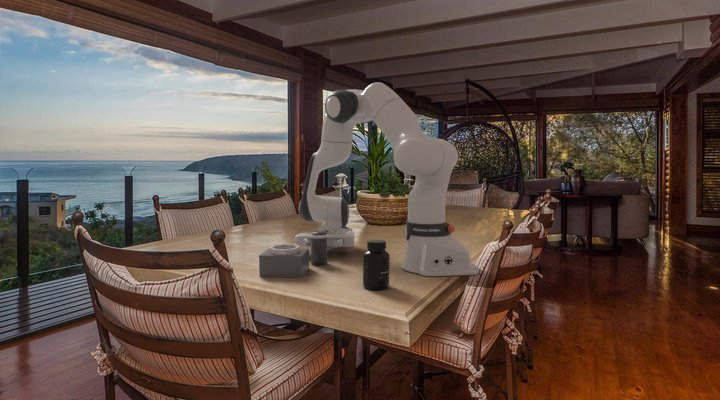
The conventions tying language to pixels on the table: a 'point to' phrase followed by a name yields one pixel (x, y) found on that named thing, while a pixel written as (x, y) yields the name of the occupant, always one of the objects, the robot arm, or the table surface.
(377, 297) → the table surface
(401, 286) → the table surface
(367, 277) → the supplement bottle
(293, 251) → the camera body block
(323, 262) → the lens
